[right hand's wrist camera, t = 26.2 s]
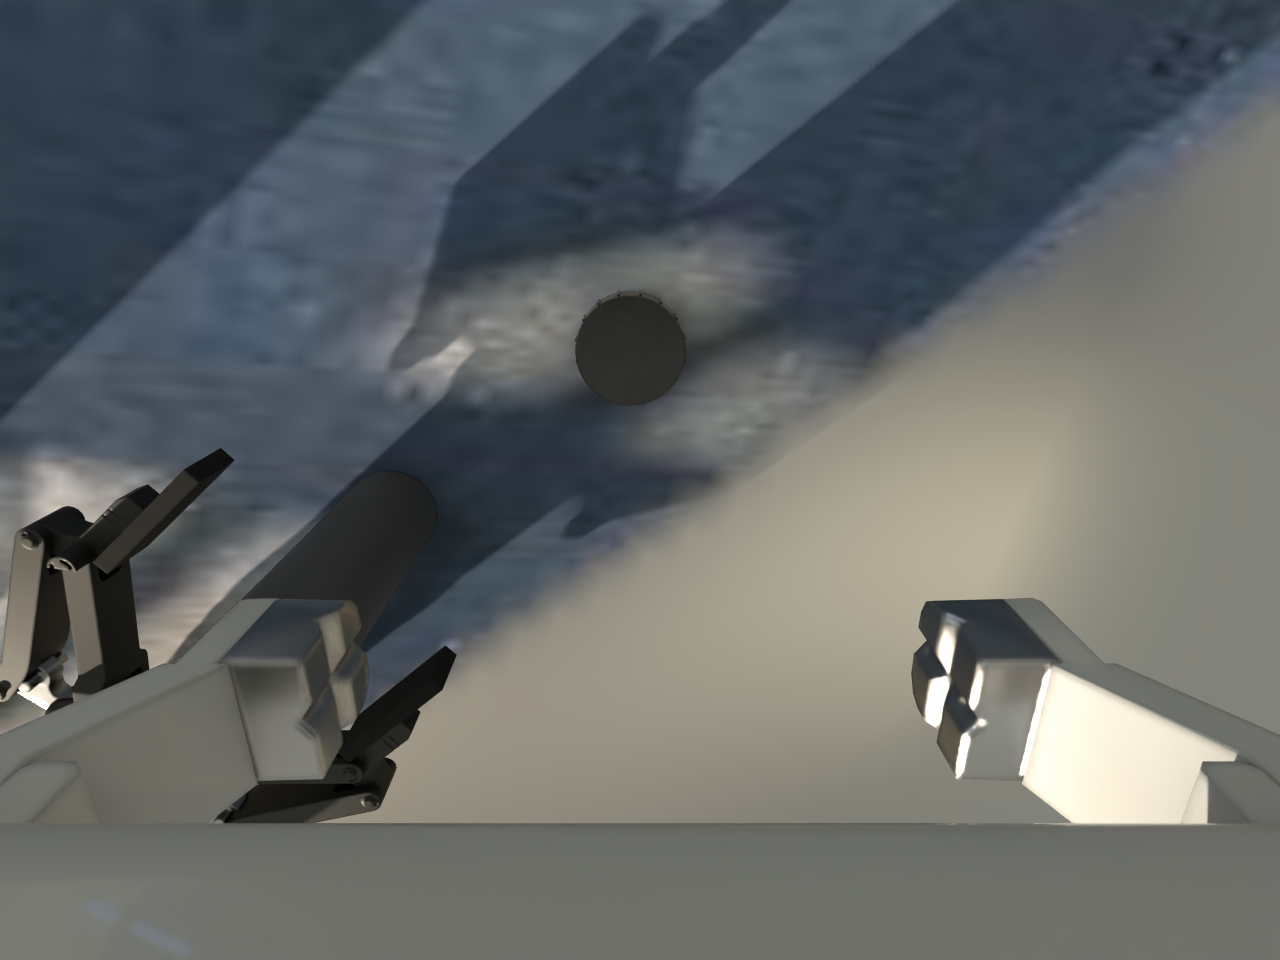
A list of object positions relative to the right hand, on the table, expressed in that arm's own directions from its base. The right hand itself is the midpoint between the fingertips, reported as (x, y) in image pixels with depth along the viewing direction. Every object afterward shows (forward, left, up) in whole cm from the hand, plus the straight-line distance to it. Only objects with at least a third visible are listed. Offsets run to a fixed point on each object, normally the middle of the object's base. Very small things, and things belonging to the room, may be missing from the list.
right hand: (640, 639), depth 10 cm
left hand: (+17, 0, -20) cm, 26 cm away
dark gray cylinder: (+16, 0, -26) cm, 31 cm away
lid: (+1, 0, -25) cm, 25 cm away
